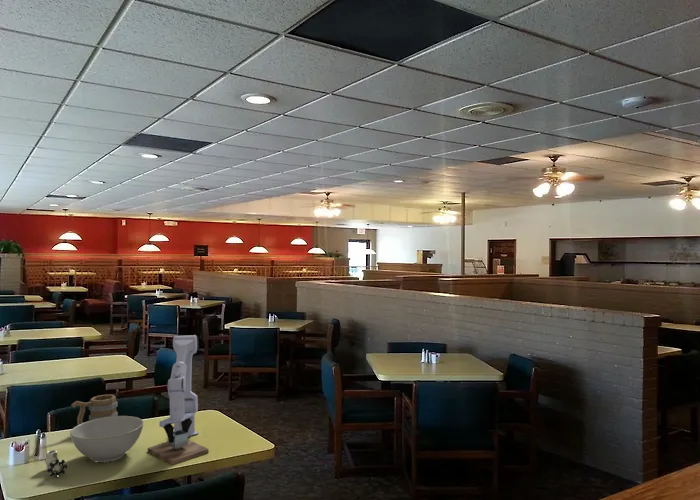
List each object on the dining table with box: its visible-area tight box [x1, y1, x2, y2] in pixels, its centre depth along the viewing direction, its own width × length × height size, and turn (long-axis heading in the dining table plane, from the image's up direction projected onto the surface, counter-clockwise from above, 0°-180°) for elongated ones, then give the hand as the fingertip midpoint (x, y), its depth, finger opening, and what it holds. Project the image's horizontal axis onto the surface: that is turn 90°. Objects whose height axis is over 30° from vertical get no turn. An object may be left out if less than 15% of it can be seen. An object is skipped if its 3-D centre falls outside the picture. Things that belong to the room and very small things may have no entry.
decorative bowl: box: [69, 415, 144, 463], centre depth 214 cm, size 27×27×12 cm
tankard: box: [71, 394, 119, 425], centre depth 246 cm, size 20×13×15 cm, turn 133°
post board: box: [147, 435, 209, 465], centre depth 217 cm, size 20×16×6 cm
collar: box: [167, 429, 189, 449], centre depth 217 cm, size 6×6×5 cm
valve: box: [45, 449, 68, 478], centre depth 200 cm, size 7×7×12 cm
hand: (177, 440), depth 217 cm, fingers closed on collar, 5 cm apart
